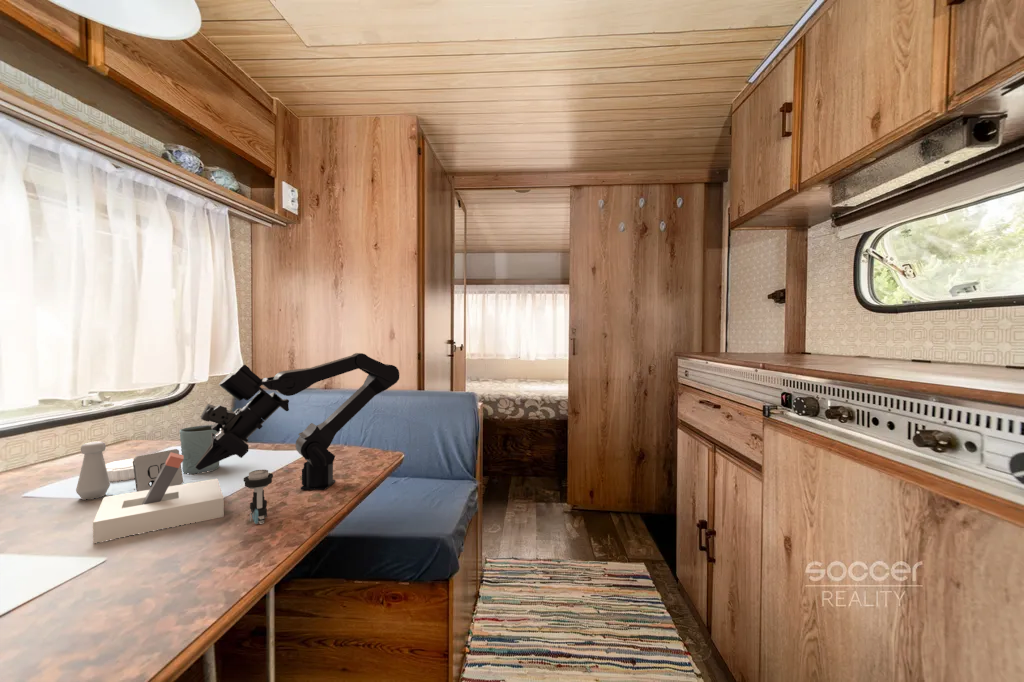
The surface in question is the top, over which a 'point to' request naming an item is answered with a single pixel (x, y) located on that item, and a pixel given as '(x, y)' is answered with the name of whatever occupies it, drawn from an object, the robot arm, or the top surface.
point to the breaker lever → (164, 478)
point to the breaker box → (157, 510)
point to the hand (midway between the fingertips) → (197, 468)
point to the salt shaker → (93, 472)
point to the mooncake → (120, 470)
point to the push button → (258, 493)
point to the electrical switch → (153, 469)
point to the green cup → (196, 447)
